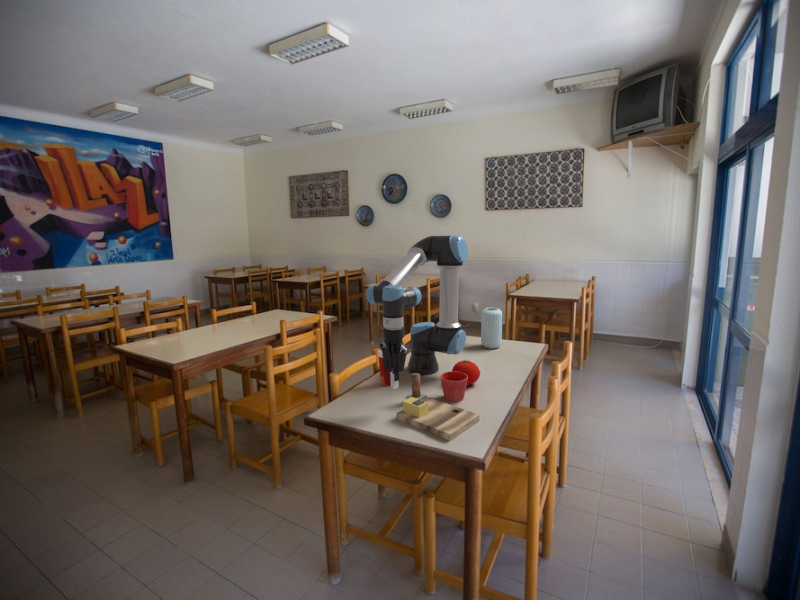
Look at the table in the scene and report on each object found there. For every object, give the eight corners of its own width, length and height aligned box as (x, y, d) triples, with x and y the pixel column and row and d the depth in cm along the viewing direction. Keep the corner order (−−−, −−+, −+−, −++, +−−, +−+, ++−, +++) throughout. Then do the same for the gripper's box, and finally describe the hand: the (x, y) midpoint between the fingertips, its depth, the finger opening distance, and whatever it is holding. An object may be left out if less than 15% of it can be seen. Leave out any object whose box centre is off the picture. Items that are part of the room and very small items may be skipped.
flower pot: (461, 406, 157) (461, 382, 156) (436, 400, 163) (435, 377, 161) (471, 396, 166) (471, 373, 164) (447, 391, 172) (447, 369, 170)
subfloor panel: (396, 419, 149) (396, 412, 148) (427, 402, 162) (427, 396, 161) (450, 441, 133) (450, 434, 132) (479, 420, 146) (479, 414, 145)
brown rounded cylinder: (410, 401, 163) (409, 374, 161) (415, 398, 165) (415, 372, 163) (416, 403, 160) (416, 376, 158) (422, 400, 163) (421, 374, 161)
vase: (481, 349, 227) (481, 310, 223) (480, 343, 238) (481, 306, 234) (502, 349, 225) (503, 310, 221) (500, 343, 237) (501, 306, 233)
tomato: (459, 376, 188) (459, 355, 186) (483, 382, 181) (484, 359, 179) (447, 385, 179) (447, 362, 177) (472, 390, 172) (473, 367, 170)
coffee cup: (399, 381, 184) (399, 350, 181) (391, 388, 176) (390, 355, 174) (383, 379, 187) (382, 348, 184) (375, 385, 180) (373, 353, 177)
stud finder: (402, 411, 149) (402, 400, 148) (411, 406, 153) (411, 395, 152) (419, 417, 144) (419, 406, 143) (428, 412, 148) (428, 401, 147)
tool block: (405, 401, 163) (405, 396, 162) (415, 397, 167) (415, 391, 166) (417, 406, 159) (417, 400, 158) (426, 401, 163) (426, 395, 162)
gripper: (373, 326, 151) (375, 386, 155) (399, 332, 142) (400, 395, 146) (387, 323, 157) (389, 381, 161) (413, 328, 148) (414, 389, 152)
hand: (394, 388), depth 153 cm, fingers closed
